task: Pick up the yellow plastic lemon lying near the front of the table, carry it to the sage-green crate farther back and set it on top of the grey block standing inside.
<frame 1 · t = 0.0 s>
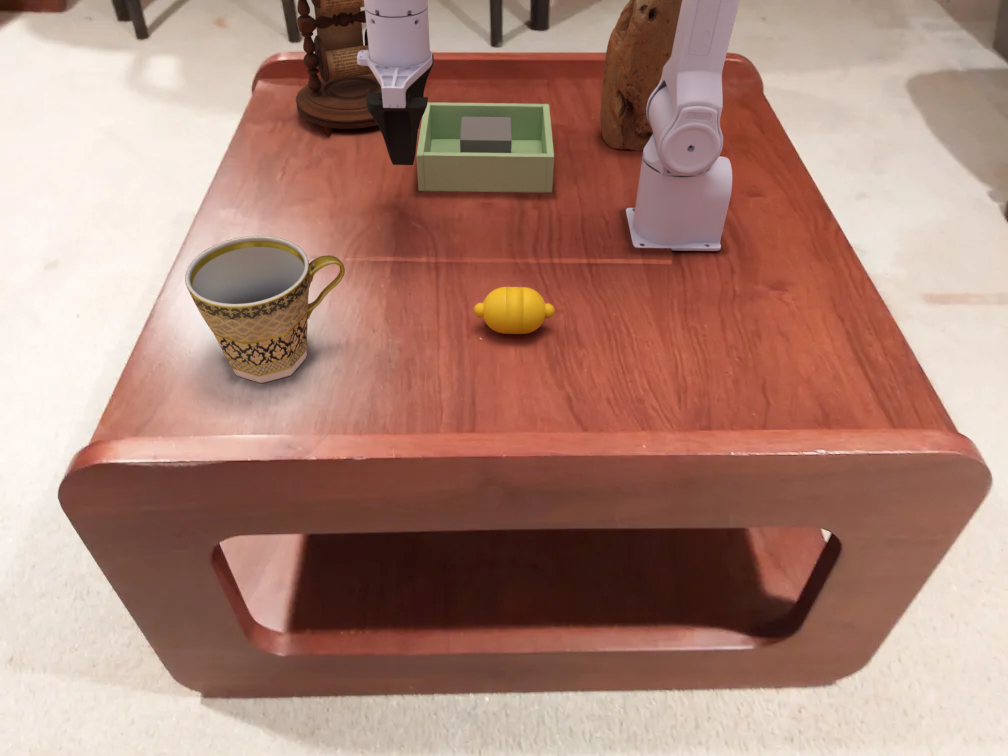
hand: (406, 144, 84), 10 cm above the table, tool pointing down, fingers open, 7 cm apart
lemon: (513, 328, 78), on the table
grey block: (486, 162, 101), point 1 cm above the table, touching crate
brown upright lump: (640, 143, 106), on the table
crate: (486, 166, 101), on the table
ceramic cup: (285, 355, 75), on the table
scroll: (354, 115, 111), on the table
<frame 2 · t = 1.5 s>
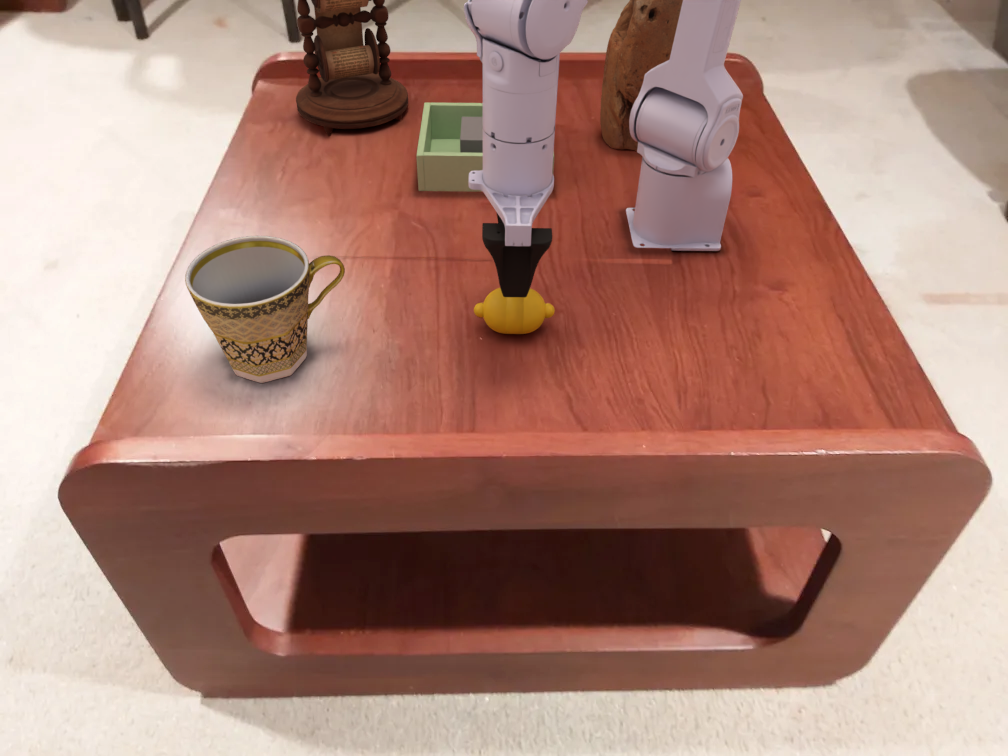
hand: (514, 268, 74), 7 cm above the table, tool pointing down, fingers open, 7 cm apart
nothing on the table moved.
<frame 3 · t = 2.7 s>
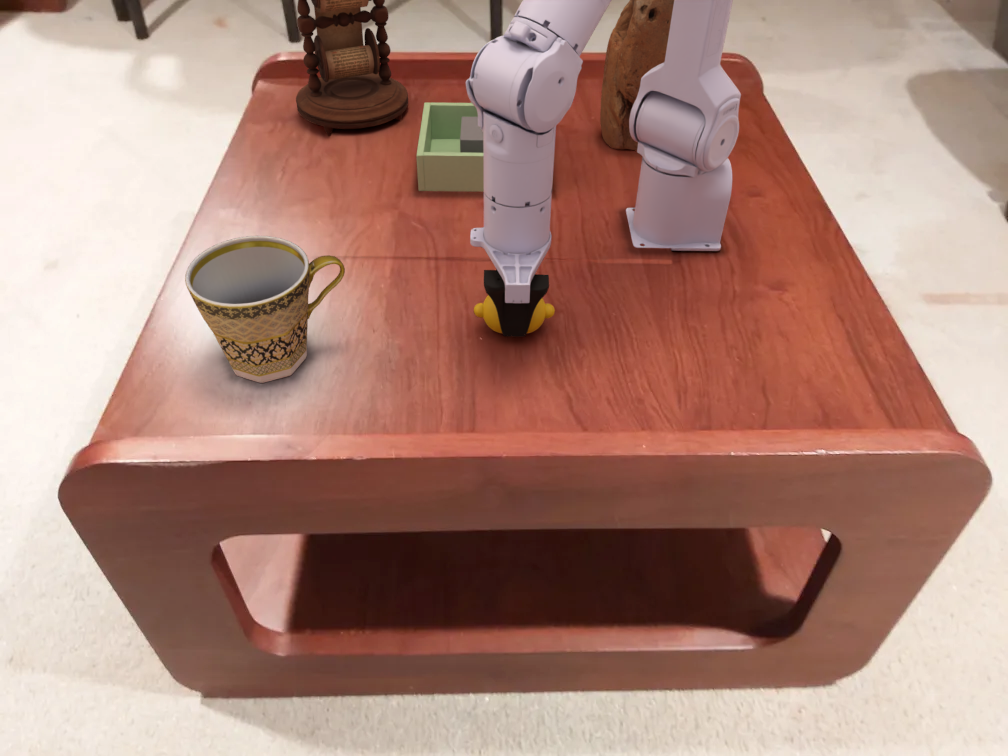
hand: (513, 316, 77), 1 cm above the table, tool pointing down, fingers closed on lemon, 4 cm apart
lemon: (513, 328, 78), on the table, touching gripper
everything else where it was.
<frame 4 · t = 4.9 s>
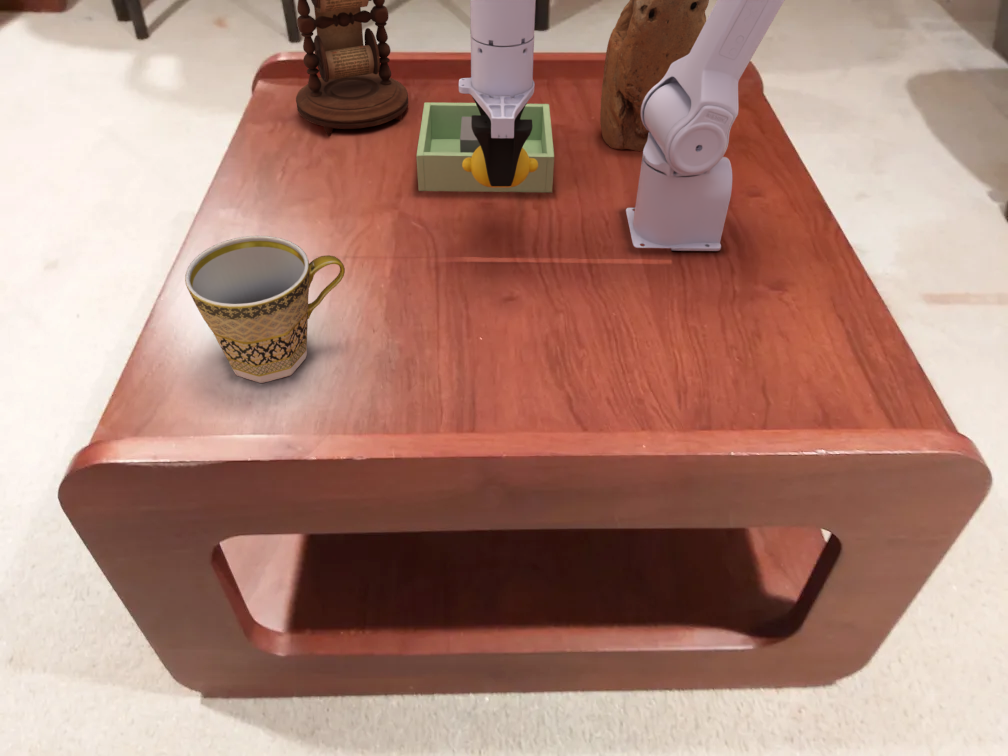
hand: (500, 171, 82), 9 cm above the table, tool pointing down, fingers closed on lemon, 4 cm apart
lemon: (499, 184, 83), point 7 cm above the table, touching gripper
everything else where it was.
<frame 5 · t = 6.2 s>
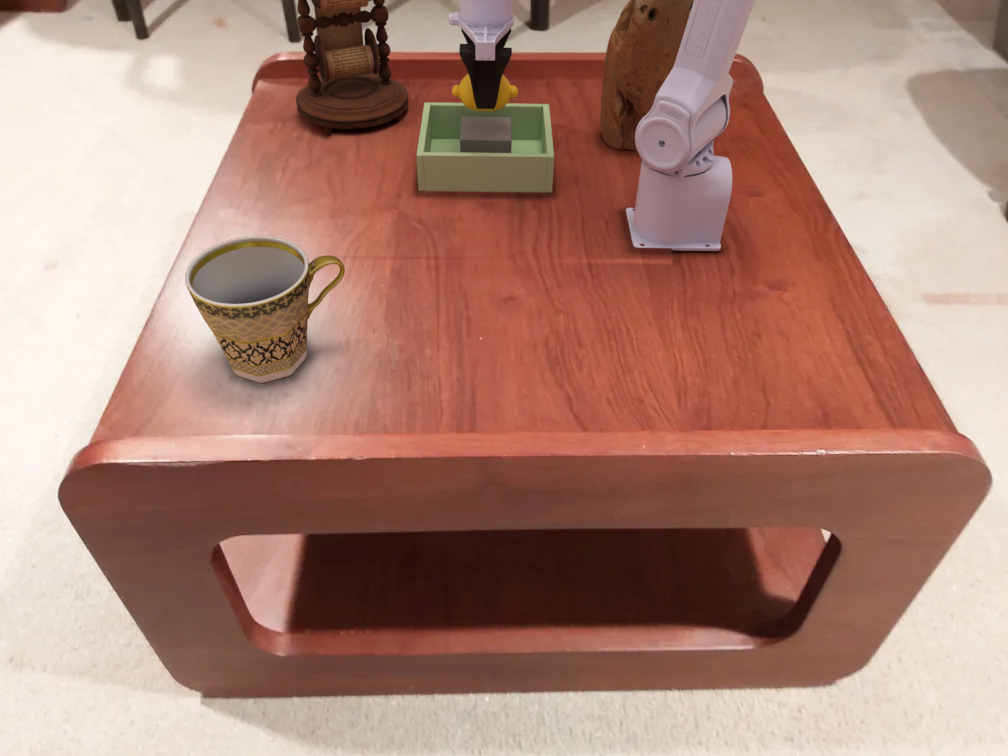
hand: (485, 97, 95), 9 cm above the table, tool pointing down, fingers closed on lemon, 4 cm apart
lemon: (484, 109, 96), point 7 cm above the table, touching gripper
everything else where it was.
when the fingers open (6 cm above the table, at t = 7.3 s): lemon stays where it is, resting on grey block.
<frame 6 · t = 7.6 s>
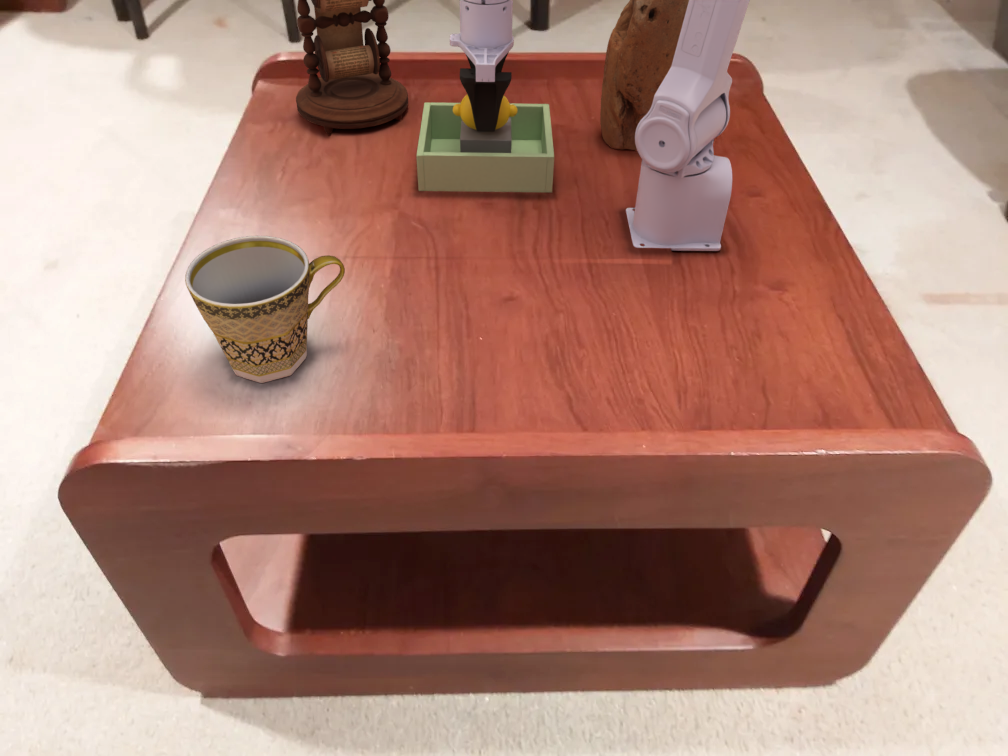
hand: (486, 116, 96), 7 cm above the table, tool pointing down, fingers open, 6 cm apart
lemon: (485, 128, 97), point 5 cm above the table, touching grey block
grey block: (486, 162, 101), point 1 cm above the table, touching crate, lemon
everything else where it was.
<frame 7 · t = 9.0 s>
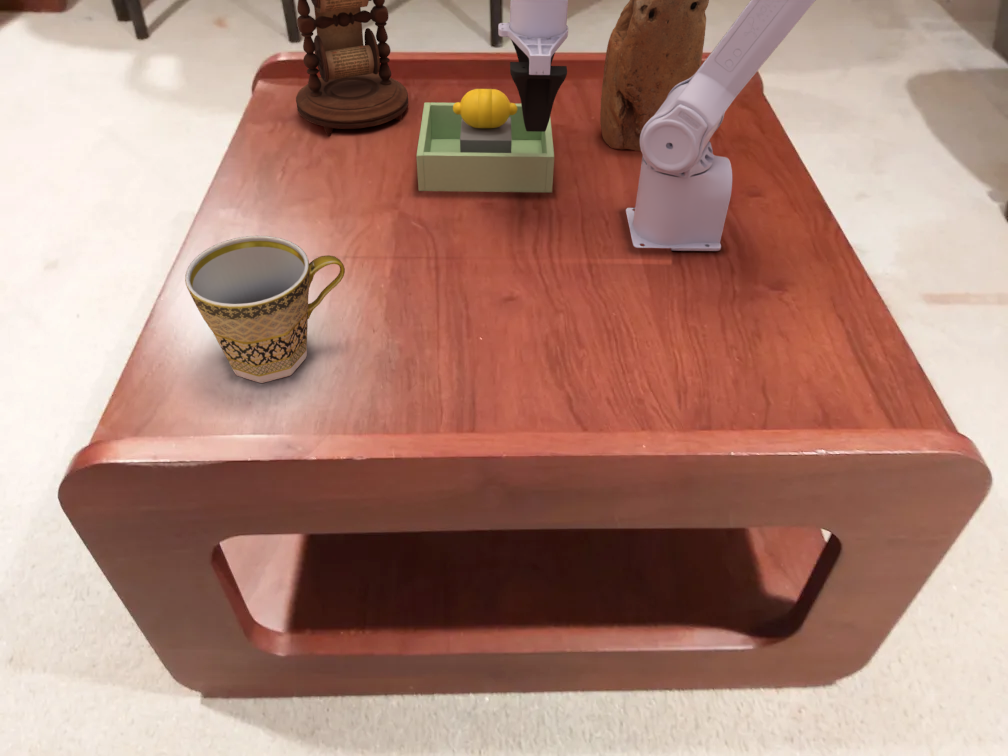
hand: (534, 113, 89), 10 cm above the table, tool pointing down, fingers open, 7 cm apart
lemon: (485, 127, 97), point 5 cm above the table, tilted 13°, touching grey block
everything else where it was.
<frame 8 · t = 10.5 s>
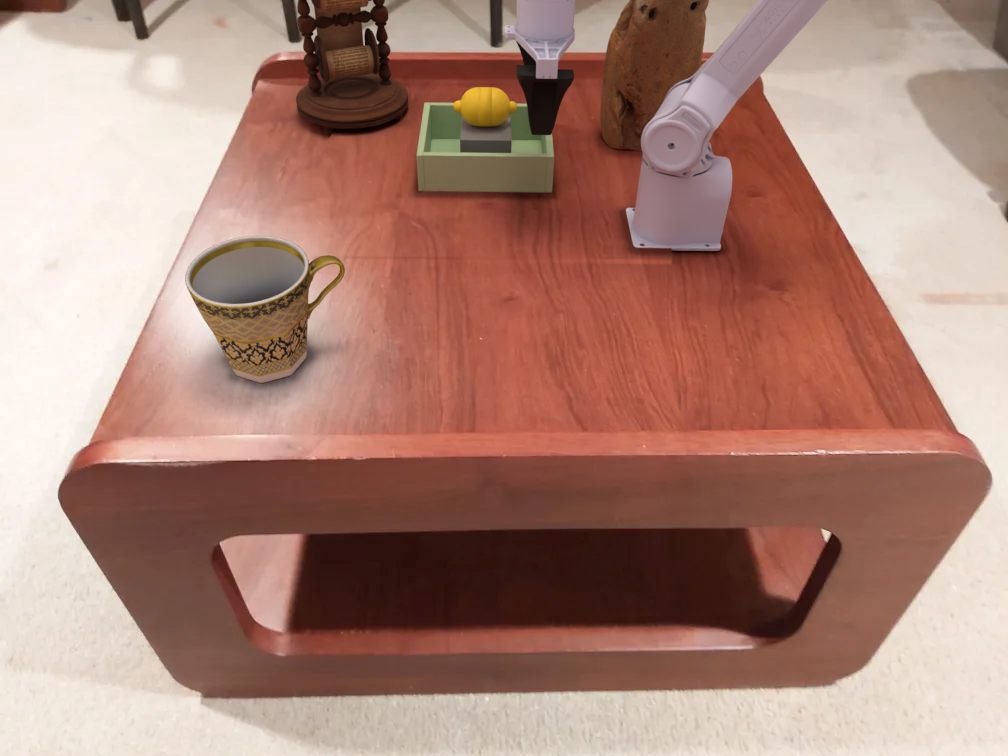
hand: (539, 116, 88), 10 cm above the table, tool pointing down, fingers open, 7 cm apart
lemon: (485, 126, 97), point 5 cm above the table, tilted 25°, touching grey block
everything else where it was.
at the end: lemon 0.1 cm off-centre on the grey block, point 4.7 cm above the grey block's base; the gripper is holding nothing; grey block inside the target area in the crate (0.0 cm from its centre), point 0.6 cm above the crate's base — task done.
